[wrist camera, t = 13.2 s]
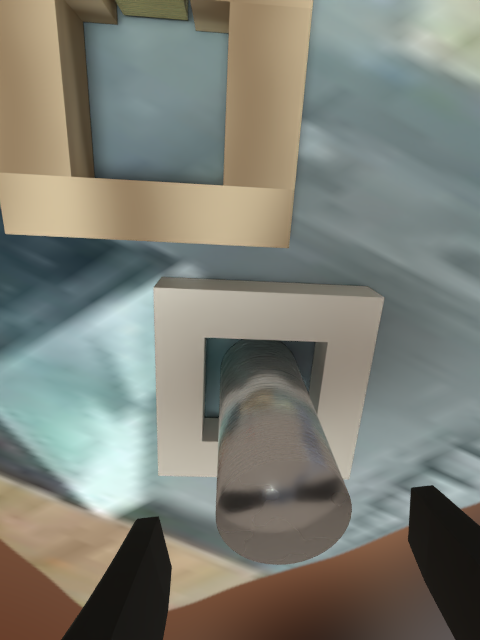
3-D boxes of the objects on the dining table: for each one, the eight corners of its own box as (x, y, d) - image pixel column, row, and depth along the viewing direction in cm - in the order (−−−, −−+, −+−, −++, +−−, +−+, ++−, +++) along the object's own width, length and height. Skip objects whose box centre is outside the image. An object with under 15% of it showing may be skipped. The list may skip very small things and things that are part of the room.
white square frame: (367, 286, 18) (384, 297, 16) (338, 453, 21) (349, 479, 19) (161, 276, 17) (153, 287, 15) (164, 449, 21) (158, 475, 19)
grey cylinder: (290, 329, 18) (345, 449, 10) (301, 396, 20) (356, 552, 11) (213, 344, 18) (202, 475, 10) (229, 409, 20) (231, 574, 11)
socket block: (307, -67, 13) (325, -124, 11) (280, 240, 17) (288, 248, 14) (-5, -97, 13) (-58, -162, 10) (37, 227, 16) (5, 234, 14)
